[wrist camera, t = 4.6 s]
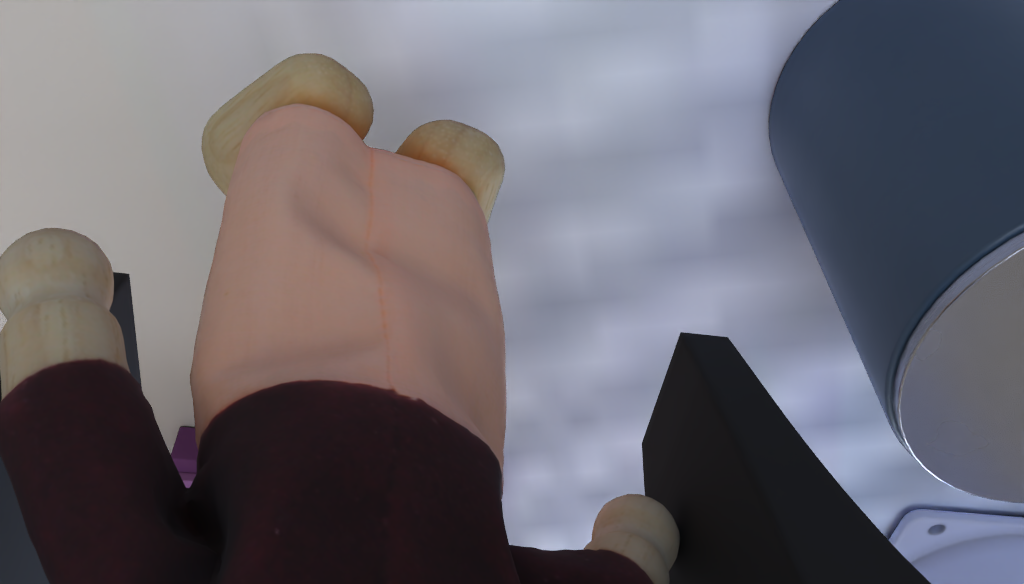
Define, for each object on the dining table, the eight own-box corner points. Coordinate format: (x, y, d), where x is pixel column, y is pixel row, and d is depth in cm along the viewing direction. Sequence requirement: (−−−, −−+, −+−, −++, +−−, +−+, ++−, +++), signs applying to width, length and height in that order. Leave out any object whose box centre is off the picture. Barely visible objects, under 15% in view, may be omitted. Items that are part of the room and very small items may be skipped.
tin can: (1138, -22, 20) (1464, 218, 13) (990, 239, 24) (1183, 521, 17) (829, -70, 19) (1013, 160, 13) (731, 208, 23) (829, 491, 17)
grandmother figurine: (117, 212, 15) (-586, 1531, 5) (158, -20, 13) (-898, 1402, 3) (574, 338, 17) (756, 1480, 7) (672, 152, 15) (1146, 1380, 5)
